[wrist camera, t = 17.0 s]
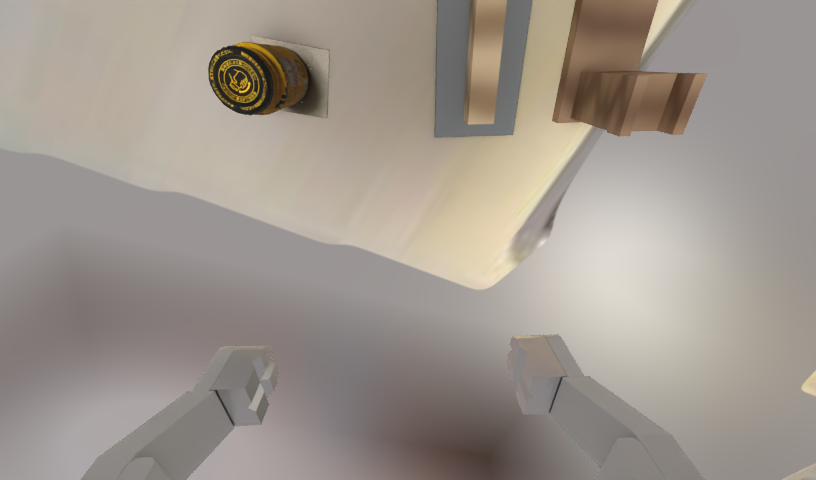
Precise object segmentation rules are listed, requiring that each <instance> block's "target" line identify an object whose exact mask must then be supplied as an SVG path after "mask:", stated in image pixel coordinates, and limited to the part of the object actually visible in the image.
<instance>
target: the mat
mask: <svg viewBox="0 0 816 480" xmlns="http://www.w3.org/2000/svg"><path fill="white" fill-rule="evenodd" d="M470 4H471V0H437V49H436V101H435V137H465V136H498V135H513V132H514V125H515V118H516V111H517V104H518V97H519V90H520V83H521V76H522V69H523V62H524V55H525V47H526V40H527V33H528V26H529V19H530V12H531V5H532V0H507V6H506V15H505V24H504V34H503V43H502V52H501V61H500V71H499V80H498V89H497V98H496V108H495V117H494V124H471V125H468V124H467V123H466V122H465V121H464V120H463V118H464V102H465V86H466V70H467V53H468V37H469V21H470Z"/></svg>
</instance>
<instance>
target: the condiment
mask: <svg viewBox="0 0 816 480" xmlns="http://www.w3.org/2000/svg"><path fill="white" fill-rule="evenodd" d="M251 39H252V43H250V42H242V43H238V44H235V45H233V46H228V47H226V48H225V47H223V48H222V49H221V50H218V51H217V52H215V54H214V55H213V56H212V58H211V61H210V63H209V69H208V70H209V81H210V85H211V87H212V89H213V91H214V93H215V94H216V96H217V97H218V98H219V100H220V101H221V102H222V103H223V104H224V105H225V106H227V107H228V108H230V109H232V110H233V111H235V112H237V113H241V114H245V115H247V114H248V115H253V114H255V115H258V114H259V115H267V114H271V113H274V112H276V111H279V110H282V111H288V112H294V113H299V114H305V115H311V116H317V117H323V118H327V102H328V71H329V50H325V49H319V48H314V47H309V46H303V45H298V44H293V43H288V42H282V41H277V40H272V39H266V38H261V37H256V36H251ZM307 64H308V65H309V67H308V66H307ZM310 67H311V68H312V69H313V70H311V69H310ZM301 102H303V103H301Z"/></svg>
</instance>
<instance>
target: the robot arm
mask: <svg viewBox="0 0 816 480" xmlns="http://www.w3.org/2000/svg"><path fill="white" fill-rule="evenodd" d="M510 345H511V348H512V350H511V351H510V352H509V353H508V358H507V367H508V372H509V376H510V379H511V382H512V383H513V384H514V385H515V386H516V387H517V392H516V396H517V399H518V402H519V405H520V408H521V410H522V413H523V414H550V417H551V418H552V419H553V420H554V421H555V422H556V423H557V424H558V425H559V426H560V427H561V428H562V429H563V430H564V431H565V432H566V433H567V434H568V435H569V436H570V437H571V438H572V439H573V440H574V441H575V443H577V445H578V446H579V447H580V448H581V449H582V450H583V451H584V452H585V453H586V454H587V455H588V456H589V457H590V458H591V459H592V460H593V461H594V462H595V463H596V464H597V465H598V466H599V467H600V468H601V469H600V471H599V472H598V474H597V476H596V478H595V479H594V480H704V478H703V477H702V476H701V474H700V473H699V471H698V470H697V469H696V467H695V466H694V465H693V463H692V462H691V461H690V459H689V458H688V457H687V455H686V454H685V452H684V451H683V450H682V448H681V447H680V445H679V444H678V443H677V441H676V440H675V439H674V437H673V436H672V435H671V434H670V433H668V432H667V431H666V430H664V429H663V428H661V427H660V426H659V425H657V424H656V423H654V422H653V421H652V420H650V419H648V418H647V417H646V416H644V415H643V414H642V413H640V412H638V411H637V410H636V409H635V408H633V407H632V406H630V405H629V404H627V403H626V402H625V401H623V400H622V399H621V398H619V397H618V396H616V395H615V394H613V393H612V392H611V391H609V390H608V389H606V388H605V387H604V386H602V385H601V384H599V383H598V382H596V381H595V380H594V379H592V378H591V377H590V376H584V375H583V373H582V371H581V369H580V368H579V367H578V365H577V363H576V361H575V360H574V358H573V356H572V355H571V353H570V351H569V350H568V348H567V346H566V345H565V343H564V341H563V340H562V338H561V337H560V336H559V335H531V336H513V337H512V339H511V342H510ZM272 354H273V352H272V350H271V347H270V346H223V347H221V348H220V349H219V350H218V351H217V352H216V354H215V355H214V357H213V359H212V360H211V362H210V363H209V365H208V367H207V368H206V370H205V371H204V373H203V374H202V376H201V378H200V379H199V381H198V382H197V384H196V386H195V387H194V389H193V390H192V391H191V392H190V391H189V392H186V393H185V394H183V395H182V396H181V397H179V398H178V399H176V400H175V401H174V402H172V403H171V404H170V405H168V406H167V407H166V408H164V409H163V410H162V411H160V412H159V413H158V414H156V415H155V416H153V417H152V418H151V419H149V420H148V421H147V422H145V423H144V424H142V425H141V426H140V427H138V428H137V429H136V430H134V431H133V432H132V433H130V434H129V435H128V436H126V437H125V438H123V439H122V440H121V441H119V442H118V443H117V444H115V445H114V446H113V447H112V448H110V449H109V450H107V451H106V452H104V453H103V454H102V455H100V456H99V457H98V458H97V459H96V460H95V462H94V463H93V464H92V466H91V467H90V468H89V469H88V471H87V472H86V473H85V475H84V476H83V477H82V479H81V480H186V479H187V478H188V477H189V476H190V475H191V474H192V473H193V472H194V470H196V469H197V467H198V466H199V465H200V464H201V463H202V462H203V461H204V460H205V459H206V458H207V457H208V456H209V454H210V453H211V452H212V451H213V450H214V449H215V448H216V447H217V446H218V445H219V444H220V443H221V442H222V440H224V438H225V437H226V436H227V435H228V434H229V433H230V432H231V431H232V430H233V429H234V426H247V425H261V424H262V421H263V419H264V416H265V414H266V411H267V408H268V406H269V403H268V400H267V397H268V396H269V395H270V394H271V393H273V392H274V390H275V387H276V384H277V379H278V367H277V363H276V362H275V361H274V360H273V359H271V356H272Z"/></svg>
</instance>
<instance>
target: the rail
mask: <svg viewBox="0 0 816 480" xmlns="http://www.w3.org/2000/svg"><path fill="white" fill-rule="evenodd" d="M506 6H507V0H471V4H470V21H469V37H468V53H467V70H466V86H465V102H464V118H463V120H464V121H465V122H466V123H467V124H468V125H471V124H494V117H495V108H496V98H497V89H498V80H499V71H500V61H501V52H502V43H503V34H504V24H505V15H506Z"/></svg>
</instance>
